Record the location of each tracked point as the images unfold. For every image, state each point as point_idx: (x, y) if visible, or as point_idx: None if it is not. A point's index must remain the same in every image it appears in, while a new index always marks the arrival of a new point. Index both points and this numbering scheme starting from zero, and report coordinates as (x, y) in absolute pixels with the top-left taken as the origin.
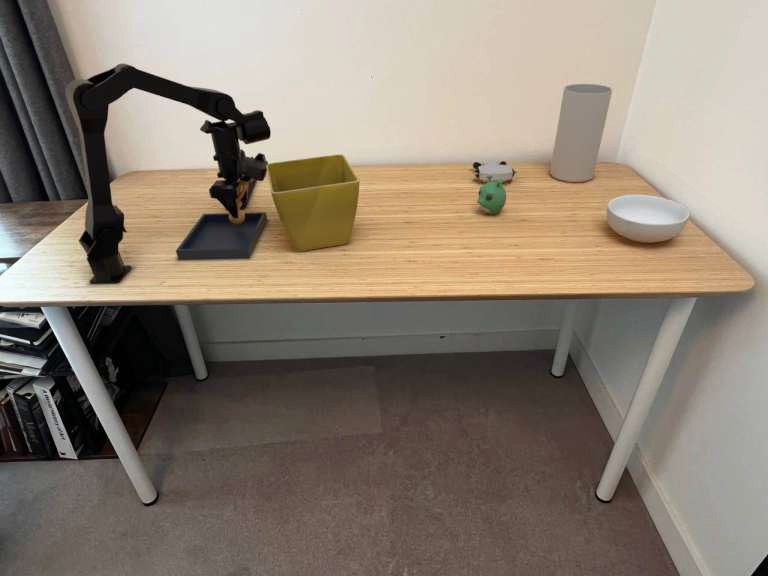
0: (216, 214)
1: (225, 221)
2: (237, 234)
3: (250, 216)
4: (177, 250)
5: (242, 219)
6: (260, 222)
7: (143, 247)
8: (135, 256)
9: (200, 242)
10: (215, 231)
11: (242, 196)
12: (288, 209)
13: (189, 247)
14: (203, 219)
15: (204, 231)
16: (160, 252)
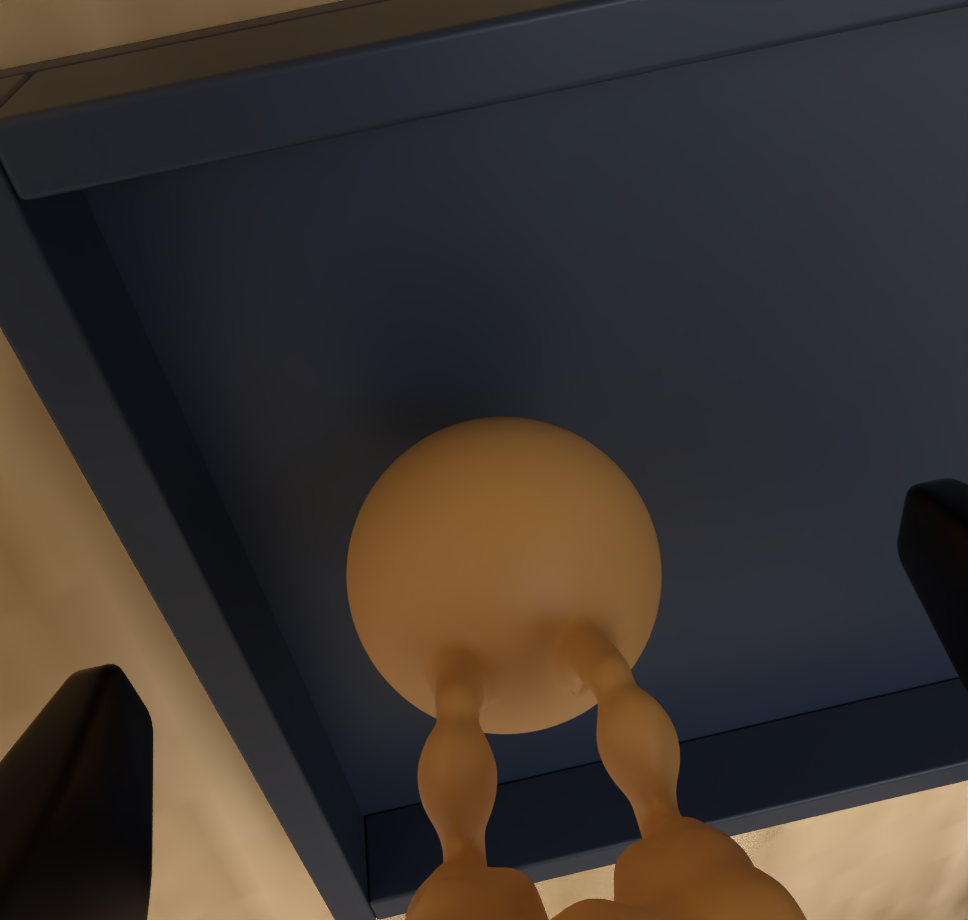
0: (326, 832)
1: (303, 678)
2: (691, 359)
3: (155, 424)
4: None
5: (572, 441)
6: (521, 25)
7: (830, 908)
8: (961, 877)
9: (864, 643)
10: None
11: (621, 903)
12: None
13: (954, 673)
14: None
15: None
16: (940, 799)
